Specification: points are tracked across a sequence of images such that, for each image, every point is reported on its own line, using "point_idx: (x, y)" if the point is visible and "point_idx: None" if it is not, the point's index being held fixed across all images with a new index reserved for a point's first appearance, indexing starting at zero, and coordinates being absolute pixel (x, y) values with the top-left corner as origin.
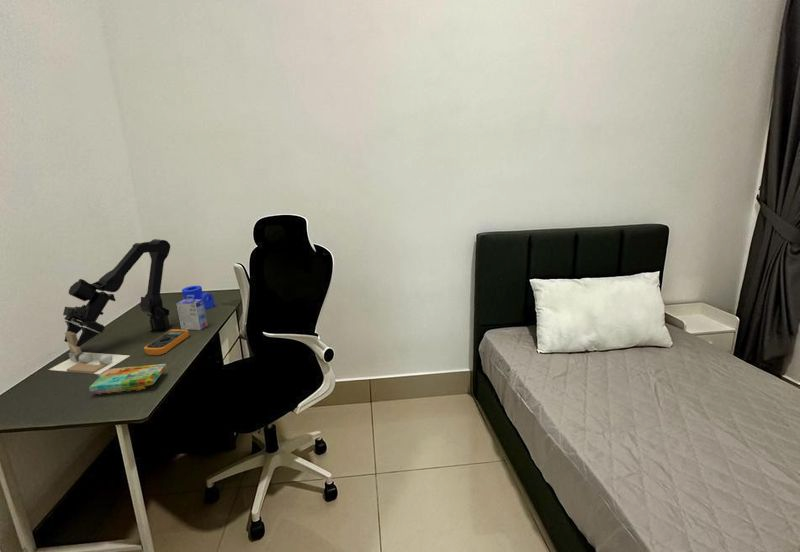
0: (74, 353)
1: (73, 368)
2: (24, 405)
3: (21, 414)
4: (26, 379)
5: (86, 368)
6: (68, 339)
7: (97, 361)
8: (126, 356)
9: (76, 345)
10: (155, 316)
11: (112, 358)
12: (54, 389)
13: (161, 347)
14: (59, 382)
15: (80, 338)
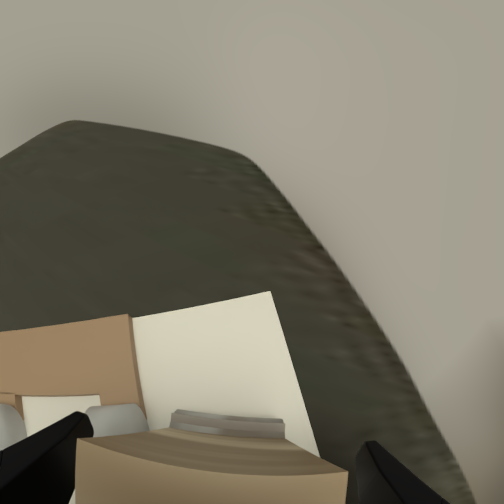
0: (208, 432)
1: (97, 333)
2: (95, 150)
3: (69, 138)
4: (294, 219)
5: (34, 352)
6: (254, 455)
7: None
8: None
9: (76, 411)
10: None
11: None
12: (75, 221)
13: None
14: (100, 257)
15: (14, 446)
